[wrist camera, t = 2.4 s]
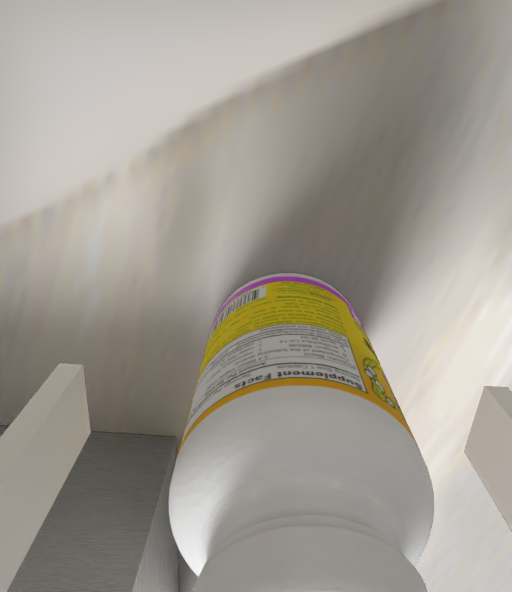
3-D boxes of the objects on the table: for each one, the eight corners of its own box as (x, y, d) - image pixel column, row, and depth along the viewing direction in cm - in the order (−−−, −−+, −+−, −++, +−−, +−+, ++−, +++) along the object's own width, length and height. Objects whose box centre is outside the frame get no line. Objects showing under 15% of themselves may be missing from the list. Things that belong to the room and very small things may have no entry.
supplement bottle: (346, 404, 21) (449, 787, 9) (208, 392, 21) (129, 761, 9) (373, 273, 18) (567, 568, 6) (216, 258, 18) (119, 528, 6)
